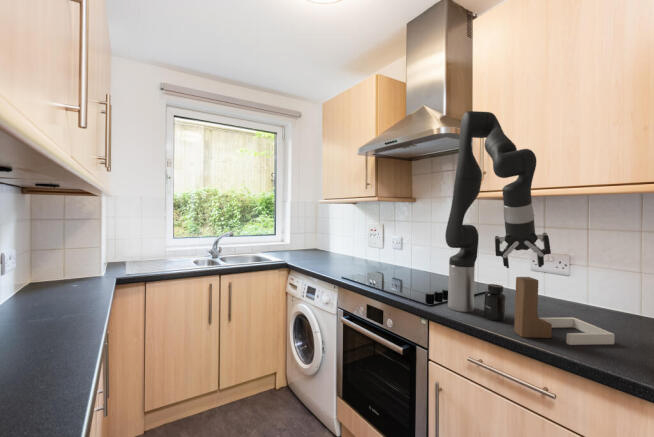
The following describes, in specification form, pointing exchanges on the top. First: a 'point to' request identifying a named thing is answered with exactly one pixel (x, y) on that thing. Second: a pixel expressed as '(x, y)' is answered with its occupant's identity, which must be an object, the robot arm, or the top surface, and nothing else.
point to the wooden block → (529, 310)
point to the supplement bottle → (494, 303)
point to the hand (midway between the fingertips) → (523, 266)
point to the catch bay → (591, 332)
